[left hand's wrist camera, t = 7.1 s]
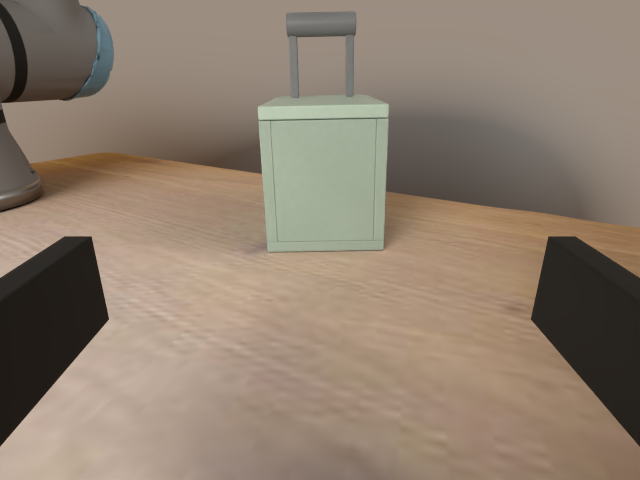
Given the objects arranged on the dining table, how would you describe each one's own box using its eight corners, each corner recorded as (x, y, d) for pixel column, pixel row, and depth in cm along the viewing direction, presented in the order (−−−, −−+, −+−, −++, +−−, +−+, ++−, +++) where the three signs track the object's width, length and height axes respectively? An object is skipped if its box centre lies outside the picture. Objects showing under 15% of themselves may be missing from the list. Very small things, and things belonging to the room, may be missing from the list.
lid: (278, 105, 44) (273, 17, 41) (366, 104, 44) (368, 15, 41) (258, 120, 30) (249, -13, 27) (388, 117, 30) (393, -16, 27)
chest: (282, 201, 47) (277, 106, 44) (365, 199, 47) (367, 104, 44) (267, 252, 34) (258, 121, 30) (383, 250, 33) (388, 118, 30)
